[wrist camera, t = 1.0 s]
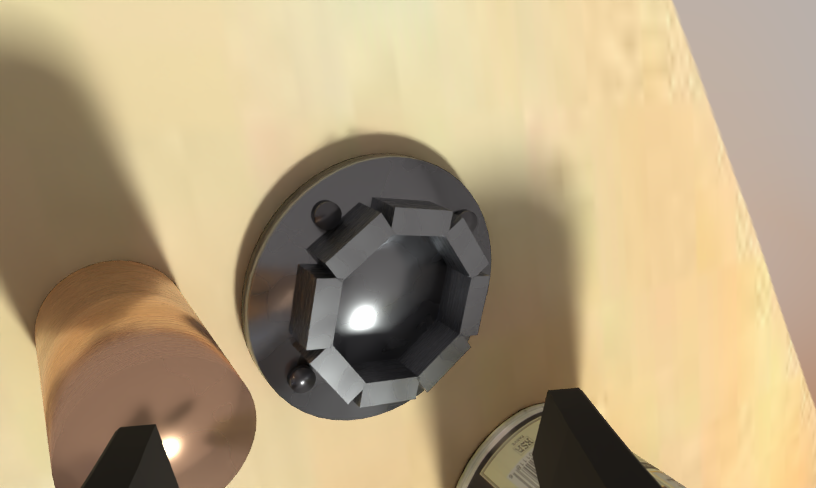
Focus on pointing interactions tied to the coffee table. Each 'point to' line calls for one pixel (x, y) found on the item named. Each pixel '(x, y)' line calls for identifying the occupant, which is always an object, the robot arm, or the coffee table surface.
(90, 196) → the coffee table surface
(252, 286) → the flange
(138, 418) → the pipe stub
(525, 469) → the coffee can
